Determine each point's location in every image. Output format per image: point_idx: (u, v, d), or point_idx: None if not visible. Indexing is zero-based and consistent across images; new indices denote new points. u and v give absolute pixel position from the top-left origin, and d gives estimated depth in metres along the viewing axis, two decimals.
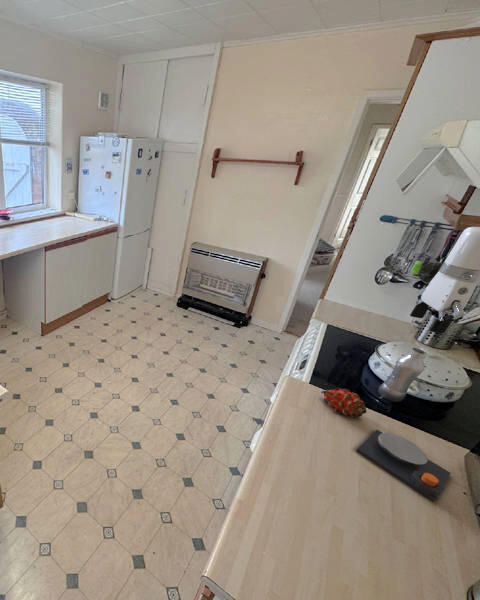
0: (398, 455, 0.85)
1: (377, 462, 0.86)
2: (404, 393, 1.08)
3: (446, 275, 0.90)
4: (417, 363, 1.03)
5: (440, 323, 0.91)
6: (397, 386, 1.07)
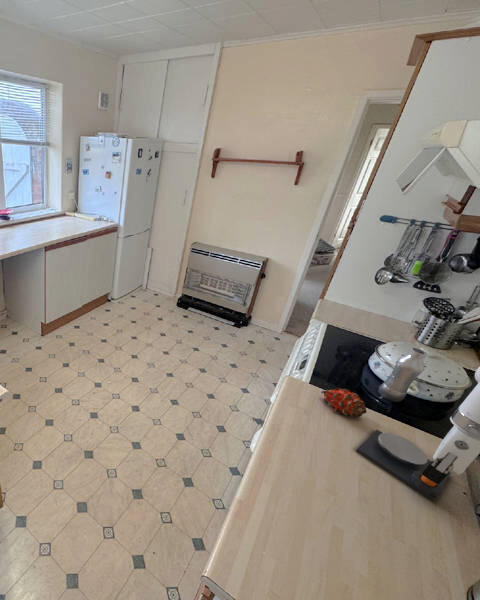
0: (398, 455, 0.85)
1: (377, 462, 0.86)
2: (404, 393, 1.08)
3: (451, 419, 0.73)
4: (417, 363, 1.03)
5: (432, 469, 0.77)
6: (397, 386, 1.07)
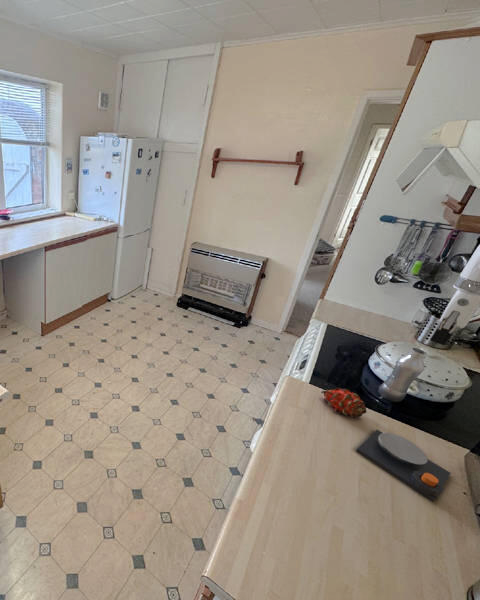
0: (398, 455, 0.85)
1: (377, 462, 0.86)
2: (404, 393, 1.08)
3: (454, 286, 0.90)
4: (417, 363, 1.03)
5: (439, 333, 0.94)
6: (397, 386, 1.07)
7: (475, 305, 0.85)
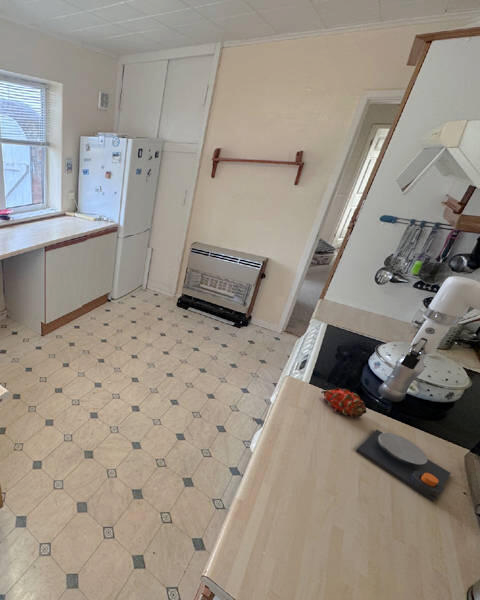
0: (398, 455, 0.85)
1: (377, 462, 0.86)
2: (404, 393, 1.08)
3: (423, 315, 1.00)
4: None
5: (408, 358, 1.03)
6: (397, 386, 1.07)
7: (440, 334, 0.95)
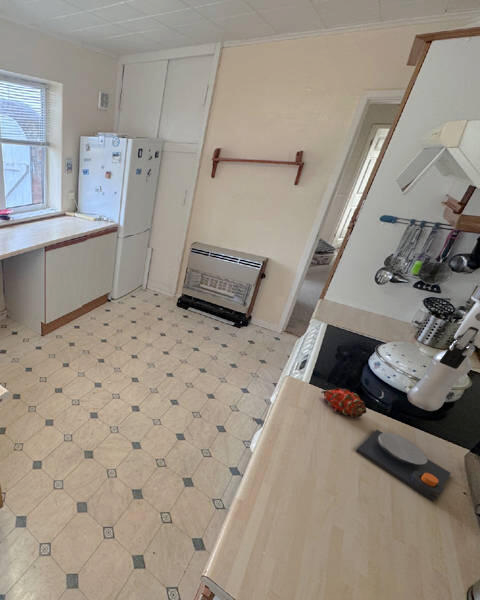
0: (398, 455, 0.85)
1: (377, 462, 0.86)
2: (442, 400, 0.83)
3: (472, 297, 0.75)
4: None
5: (450, 354, 0.78)
6: (433, 390, 0.83)
7: None
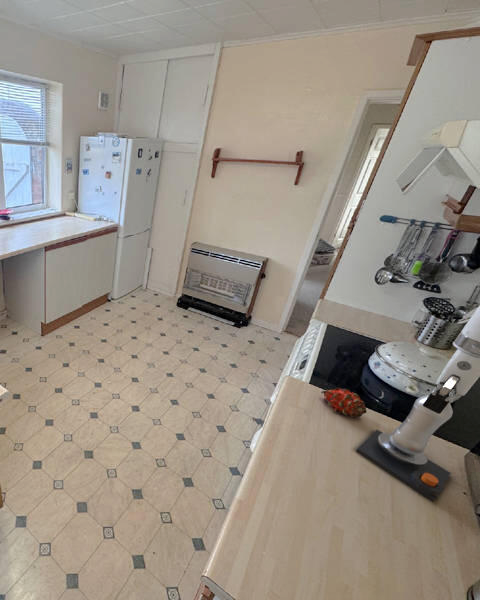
0: (398, 455, 0.85)
1: (377, 462, 0.86)
2: (424, 444, 0.83)
3: (454, 343, 0.74)
4: None
5: (433, 398, 0.76)
6: (415, 435, 0.83)
7: (479, 371, 0.70)
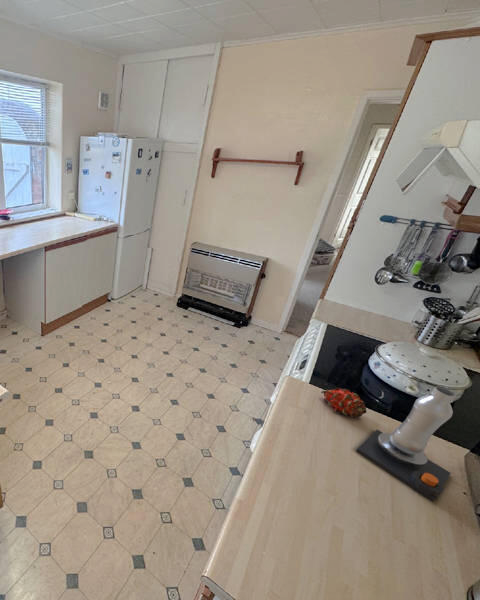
0: (398, 455, 0.85)
1: (377, 462, 0.86)
2: (424, 444, 0.83)
3: None
4: (443, 408, 0.78)
5: None
6: (415, 435, 0.83)
7: None
